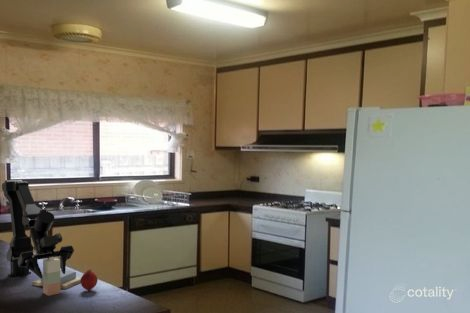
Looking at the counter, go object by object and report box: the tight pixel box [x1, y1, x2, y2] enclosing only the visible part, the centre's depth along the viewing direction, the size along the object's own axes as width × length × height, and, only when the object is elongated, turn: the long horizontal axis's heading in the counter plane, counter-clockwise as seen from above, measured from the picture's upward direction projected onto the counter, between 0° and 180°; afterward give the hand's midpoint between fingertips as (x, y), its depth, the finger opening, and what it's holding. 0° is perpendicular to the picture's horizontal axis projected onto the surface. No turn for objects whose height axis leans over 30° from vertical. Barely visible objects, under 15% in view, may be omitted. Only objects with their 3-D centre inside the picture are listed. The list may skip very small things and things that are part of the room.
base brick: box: [40, 269, 77, 284], centre depth 180 cm, size 9×9×2 cm
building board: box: [31, 276, 82, 290], centre depth 180 cm, size 15×11×1 cm
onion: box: [80, 268, 98, 292], centre depth 170 cm, size 6×6×8 cm
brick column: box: [42, 257, 61, 297], centre depth 167 cm, size 4×4×13 cm
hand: (53, 275), depth 166 cm, fingers open, 8 cm apart
